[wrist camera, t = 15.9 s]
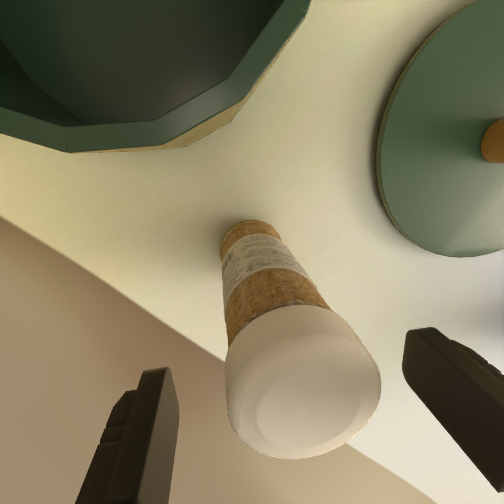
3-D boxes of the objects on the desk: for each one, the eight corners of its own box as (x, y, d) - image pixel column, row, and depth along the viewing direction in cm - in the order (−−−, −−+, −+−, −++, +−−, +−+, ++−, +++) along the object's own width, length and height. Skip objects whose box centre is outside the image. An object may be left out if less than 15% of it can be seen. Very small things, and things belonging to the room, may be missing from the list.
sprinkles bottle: (262, 286, 21) (329, 480, 9) (208, 261, 20) (197, 446, 8) (293, 235, 20) (420, 375, 8) (238, 206, 19) (283, 316, 7)
